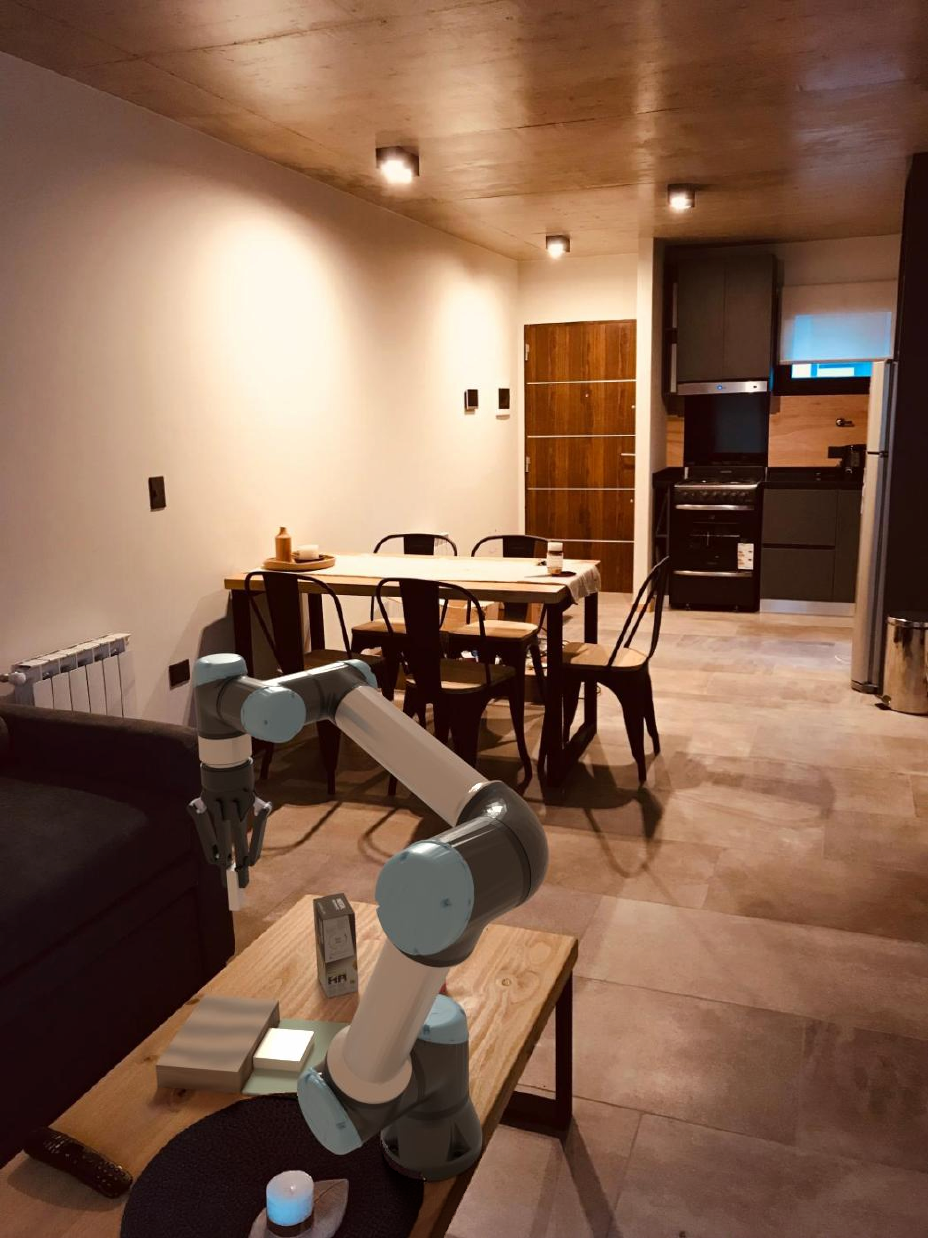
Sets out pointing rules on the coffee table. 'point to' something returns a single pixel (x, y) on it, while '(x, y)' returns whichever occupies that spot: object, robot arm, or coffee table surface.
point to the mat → (287, 1080)
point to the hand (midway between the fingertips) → (237, 906)
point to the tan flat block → (217, 1044)
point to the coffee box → (335, 944)
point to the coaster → (283, 1049)
